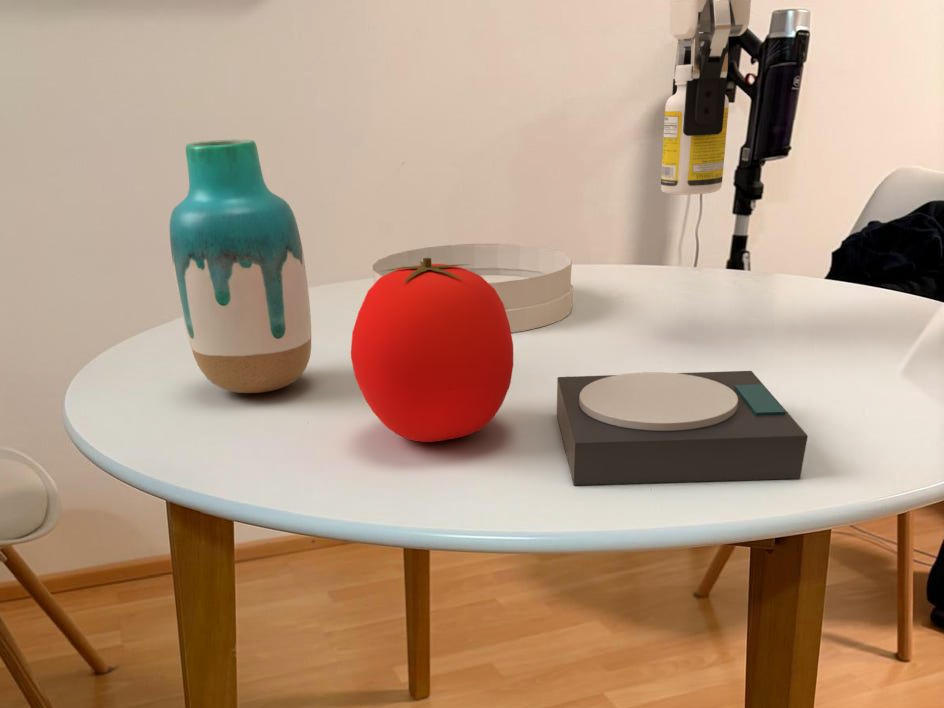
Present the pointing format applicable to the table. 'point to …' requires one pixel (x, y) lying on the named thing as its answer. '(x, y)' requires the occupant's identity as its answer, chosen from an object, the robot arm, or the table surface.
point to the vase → (240, 272)
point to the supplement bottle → (690, 148)
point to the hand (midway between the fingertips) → (695, 129)
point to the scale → (676, 428)
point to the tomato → (432, 351)
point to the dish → (505, 277)
